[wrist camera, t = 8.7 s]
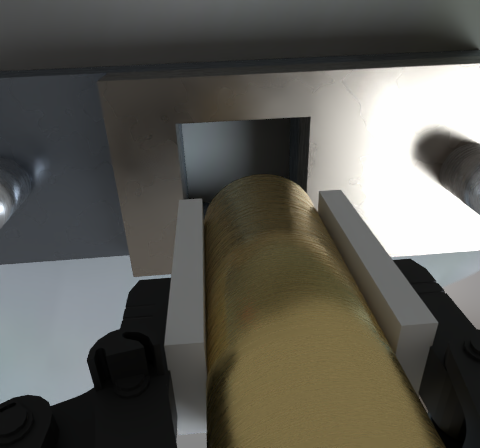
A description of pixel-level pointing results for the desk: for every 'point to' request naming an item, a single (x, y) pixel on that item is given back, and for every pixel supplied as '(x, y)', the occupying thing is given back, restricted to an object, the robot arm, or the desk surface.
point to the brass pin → (295, 333)
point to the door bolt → (233, 109)
